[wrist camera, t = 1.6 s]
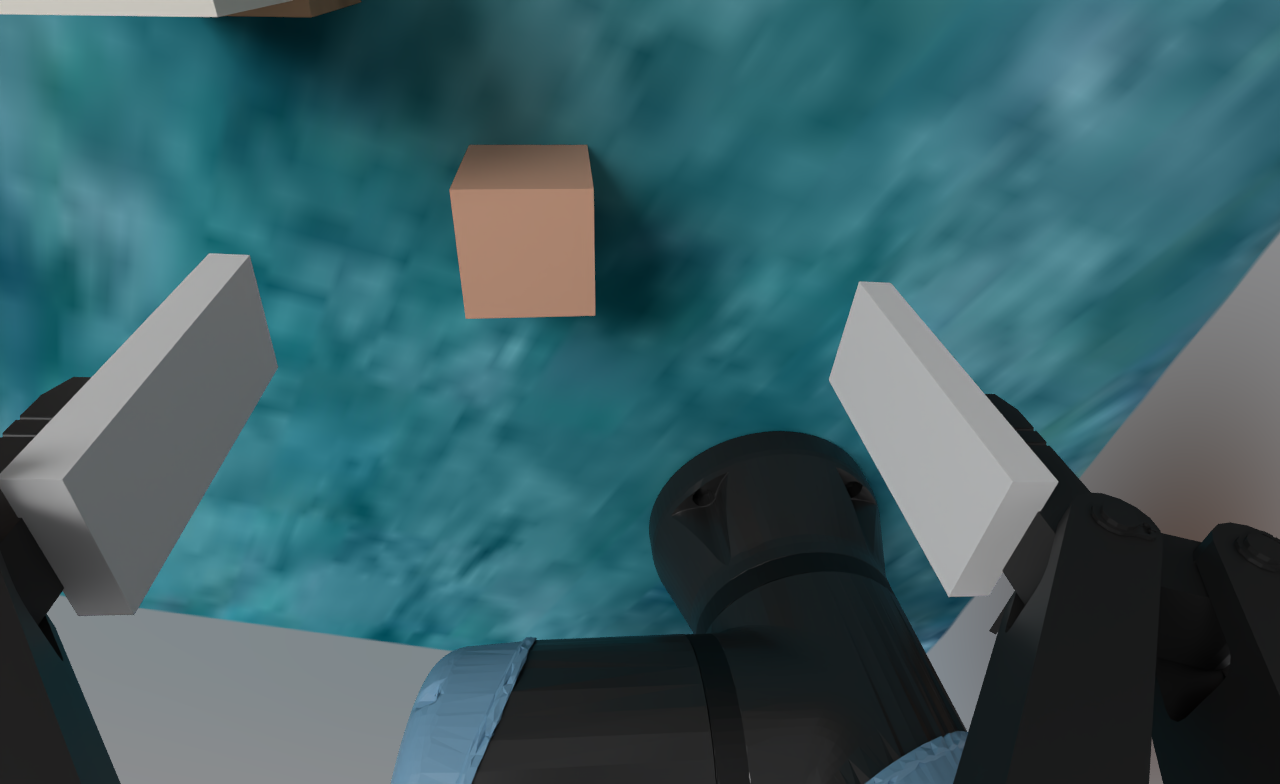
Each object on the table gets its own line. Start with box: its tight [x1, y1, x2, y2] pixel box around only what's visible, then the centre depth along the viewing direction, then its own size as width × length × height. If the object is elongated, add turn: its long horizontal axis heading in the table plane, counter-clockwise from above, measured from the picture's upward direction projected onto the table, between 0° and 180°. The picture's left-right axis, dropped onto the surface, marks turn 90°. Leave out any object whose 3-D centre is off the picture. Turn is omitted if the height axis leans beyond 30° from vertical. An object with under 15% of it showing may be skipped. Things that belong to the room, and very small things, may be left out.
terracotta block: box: [450, 145, 595, 319], centre depth 31 cm, size 6×6×7 cm
